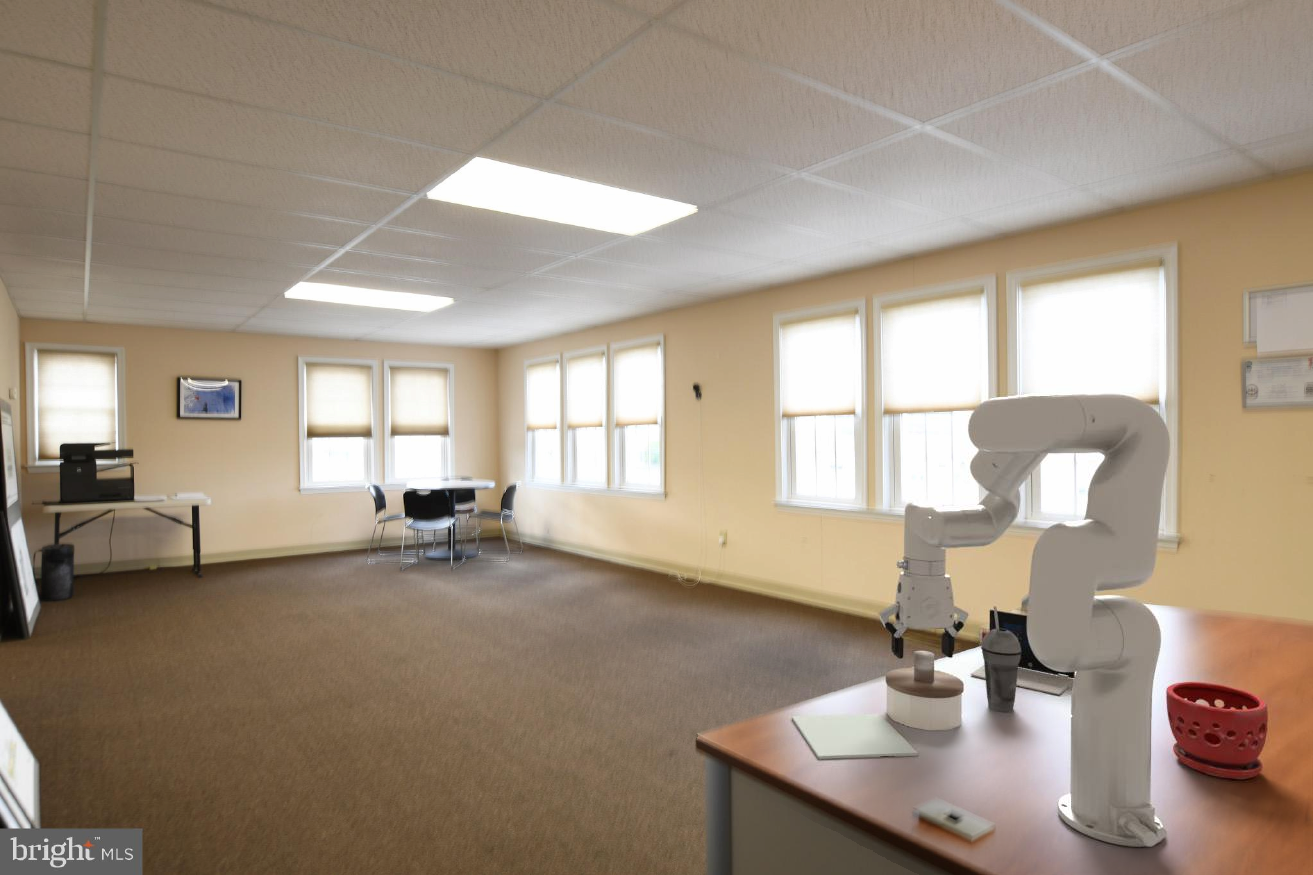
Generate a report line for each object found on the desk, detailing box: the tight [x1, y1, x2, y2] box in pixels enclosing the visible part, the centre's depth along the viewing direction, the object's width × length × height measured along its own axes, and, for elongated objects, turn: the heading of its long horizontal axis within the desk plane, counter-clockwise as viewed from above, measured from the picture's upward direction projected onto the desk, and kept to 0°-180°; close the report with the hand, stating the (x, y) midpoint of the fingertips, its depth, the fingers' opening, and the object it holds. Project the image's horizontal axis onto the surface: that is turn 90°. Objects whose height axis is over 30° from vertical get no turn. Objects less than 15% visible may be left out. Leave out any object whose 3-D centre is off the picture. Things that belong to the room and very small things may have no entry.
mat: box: [791, 713, 919, 760], centre depth 132 cm, size 17×17×1 cm
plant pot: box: [1165, 681, 1269, 781], centre depth 120 cm, size 13×13×12 cm
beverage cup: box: [980, 605, 1022, 713], centre depth 145 cm, size 7×7×20 cm
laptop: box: [970, 609, 1076, 696], centre depth 162 cm, size 18×12×13 cm
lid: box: [885, 650, 965, 698], centre depth 141 cm, size 14×14×6 cm
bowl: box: [886, 684, 963, 731], centre depth 141 cm, size 13×13×6 cm
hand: (922, 655), depth 141 cm, fingers open, 9 cm apart
